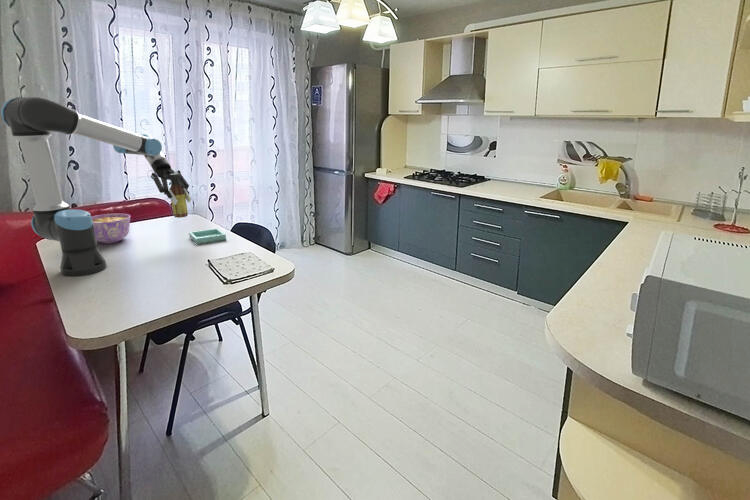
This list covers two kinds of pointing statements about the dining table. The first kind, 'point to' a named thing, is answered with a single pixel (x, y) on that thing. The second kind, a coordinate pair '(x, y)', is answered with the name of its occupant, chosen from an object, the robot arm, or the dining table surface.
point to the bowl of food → (111, 227)
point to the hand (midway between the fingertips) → (183, 201)
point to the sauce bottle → (178, 197)
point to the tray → (207, 236)
